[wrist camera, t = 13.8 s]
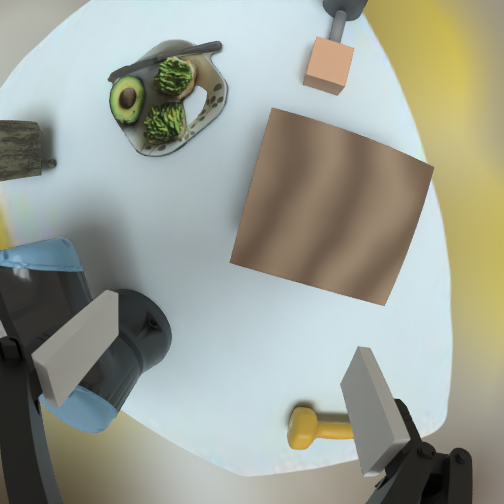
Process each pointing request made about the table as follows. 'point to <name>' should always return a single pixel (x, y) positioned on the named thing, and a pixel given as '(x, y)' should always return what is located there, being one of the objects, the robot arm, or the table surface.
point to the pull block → (333, 49)
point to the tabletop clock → (20, 150)
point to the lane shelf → (330, 208)
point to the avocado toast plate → (166, 95)
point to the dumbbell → (313, 429)
